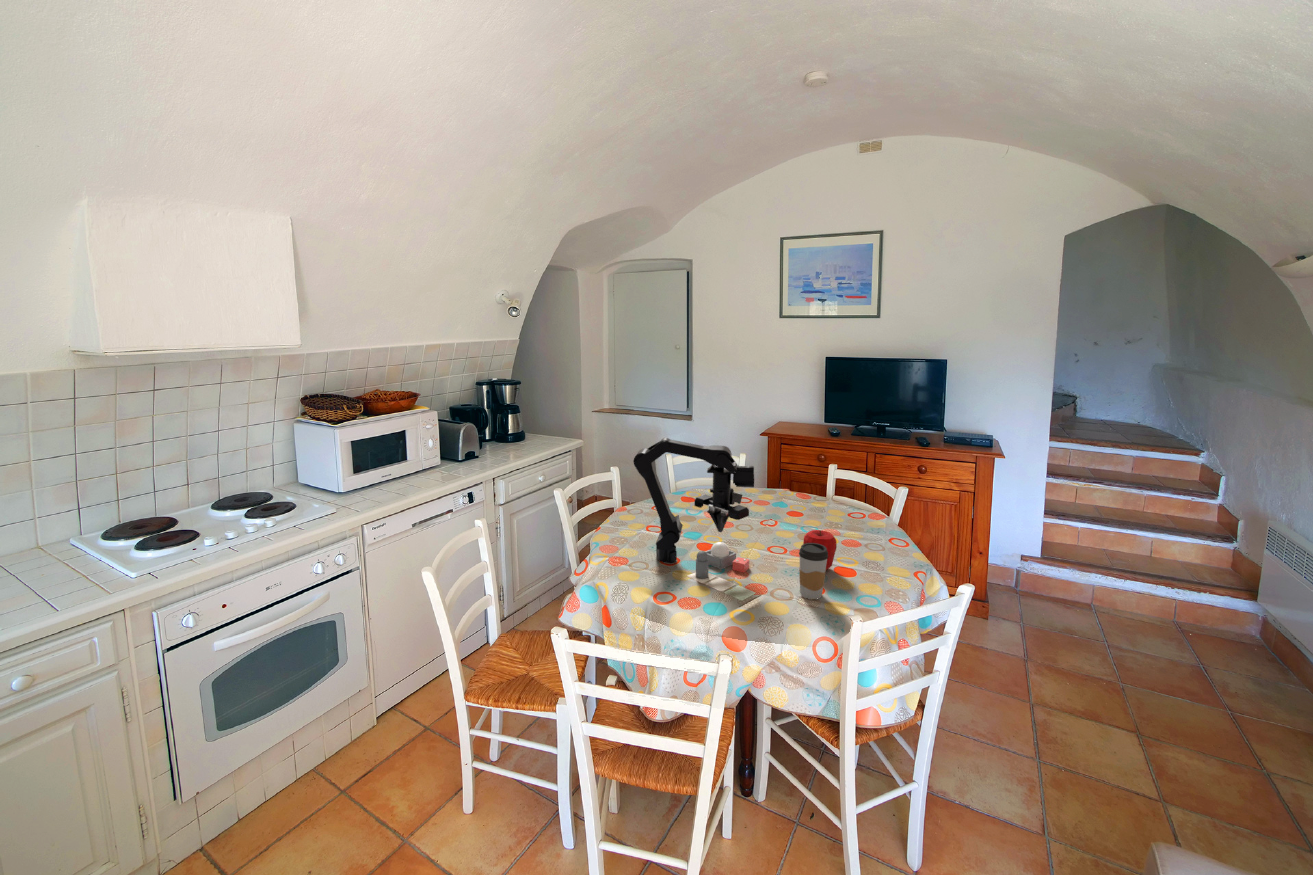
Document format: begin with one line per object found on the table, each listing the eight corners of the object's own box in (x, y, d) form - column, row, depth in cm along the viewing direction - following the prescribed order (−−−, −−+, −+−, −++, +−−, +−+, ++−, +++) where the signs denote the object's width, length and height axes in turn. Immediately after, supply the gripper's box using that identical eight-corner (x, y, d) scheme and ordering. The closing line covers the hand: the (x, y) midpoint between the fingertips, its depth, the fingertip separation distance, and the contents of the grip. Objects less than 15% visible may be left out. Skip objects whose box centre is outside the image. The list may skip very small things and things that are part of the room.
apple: (835, 577, 190) (838, 537, 187) (802, 574, 192) (804, 534, 189) (833, 563, 200) (835, 525, 197) (801, 561, 202) (803, 522, 199)
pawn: (692, 576, 188) (693, 551, 186) (701, 572, 191) (702, 547, 189) (702, 580, 185) (702, 555, 184) (711, 576, 188) (711, 551, 186)
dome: (706, 559, 198) (707, 542, 197) (718, 554, 202) (719, 537, 201) (720, 565, 194) (721, 547, 193) (732, 559, 198) (733, 542, 197)
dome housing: (702, 565, 199) (703, 552, 198) (718, 558, 204) (718, 545, 203) (721, 572, 193) (721, 559, 192) (736, 565, 199) (736, 552, 198)
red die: (732, 573, 193) (732, 560, 192) (737, 568, 196) (737, 555, 195) (744, 575, 191) (744, 563, 190) (748, 571, 194) (749, 558, 193)
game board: (681, 580, 188) (681, 576, 188) (703, 570, 195) (703, 567, 194) (739, 607, 172) (739, 603, 172) (761, 595, 179) (761, 591, 178)
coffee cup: (820, 588, 183) (823, 541, 180) (829, 601, 175) (832, 553, 172) (793, 588, 183) (795, 542, 179) (800, 601, 175) (803, 553, 171)
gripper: (760, 487, 191) (758, 533, 195) (716, 474, 205) (714, 518, 208) (738, 494, 184) (736, 542, 187) (693, 481, 197) (692, 526, 201)
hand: (720, 531), depth 196 cm, fingers closed
